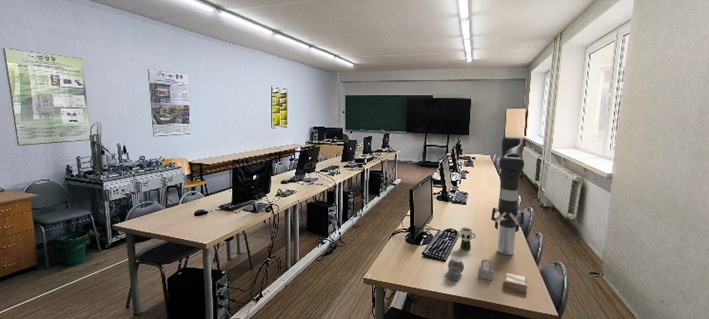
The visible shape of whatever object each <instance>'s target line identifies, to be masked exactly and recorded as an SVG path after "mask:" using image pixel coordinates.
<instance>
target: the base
mask: <svg viewBox="0 0 709 319" xmlns="http://www.w3.org/2000/svg"><path fill="white" fill-rule="evenodd" d="M506 289H507V290H508V291H511V290H512V292H515V291H516V293H519V292H520V294H525V295H527V293H528V292H527V290H528V277H527V276H524V275H519V274H513V273H508V272H505V273H504V281H503V290H506Z"/></svg>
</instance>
